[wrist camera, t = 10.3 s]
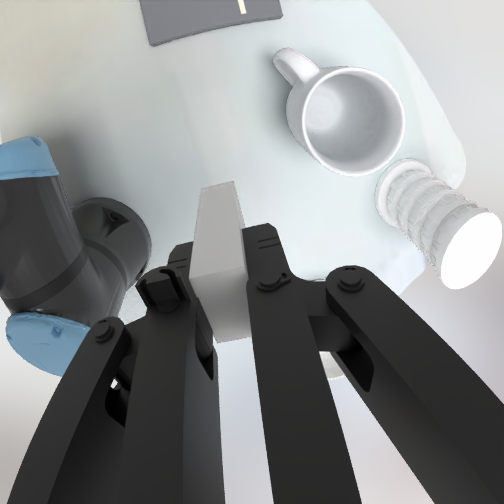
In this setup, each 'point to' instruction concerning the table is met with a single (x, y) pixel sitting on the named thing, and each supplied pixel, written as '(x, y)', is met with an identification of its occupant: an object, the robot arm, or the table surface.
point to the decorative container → (439, 222)
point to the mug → (342, 114)
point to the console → (201, 16)
